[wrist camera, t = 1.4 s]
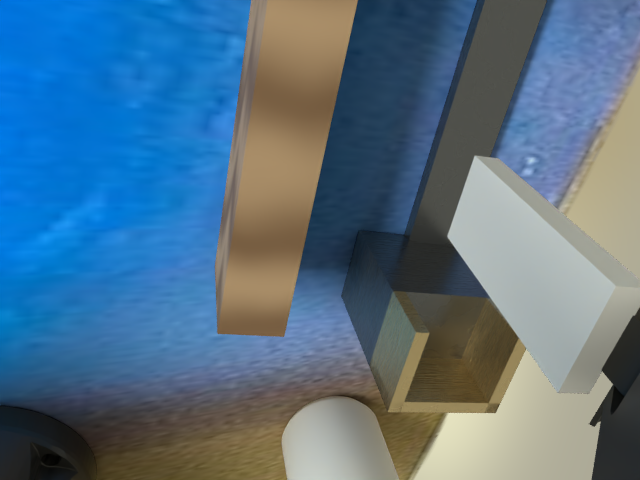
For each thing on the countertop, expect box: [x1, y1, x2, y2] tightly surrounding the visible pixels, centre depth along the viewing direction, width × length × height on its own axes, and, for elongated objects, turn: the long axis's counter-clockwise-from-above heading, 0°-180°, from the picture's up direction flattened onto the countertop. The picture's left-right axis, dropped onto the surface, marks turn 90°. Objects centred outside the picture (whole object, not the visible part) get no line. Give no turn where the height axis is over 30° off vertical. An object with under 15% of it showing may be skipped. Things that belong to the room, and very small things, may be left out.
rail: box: [215, 0, 358, 337], centre depth 29 cm, size 28×4×8 cm, turn 168°
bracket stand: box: [341, 0, 547, 413], centre depth 30 cm, size 33×8×12 cm, turn 168°
